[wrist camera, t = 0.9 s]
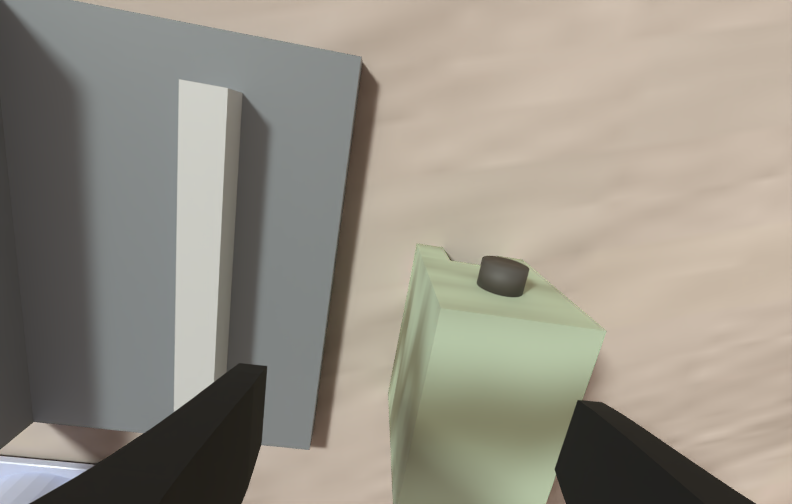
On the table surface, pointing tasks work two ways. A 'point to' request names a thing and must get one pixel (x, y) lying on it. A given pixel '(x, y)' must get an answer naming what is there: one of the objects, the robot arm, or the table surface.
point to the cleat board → (164, 215)
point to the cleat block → (484, 381)
